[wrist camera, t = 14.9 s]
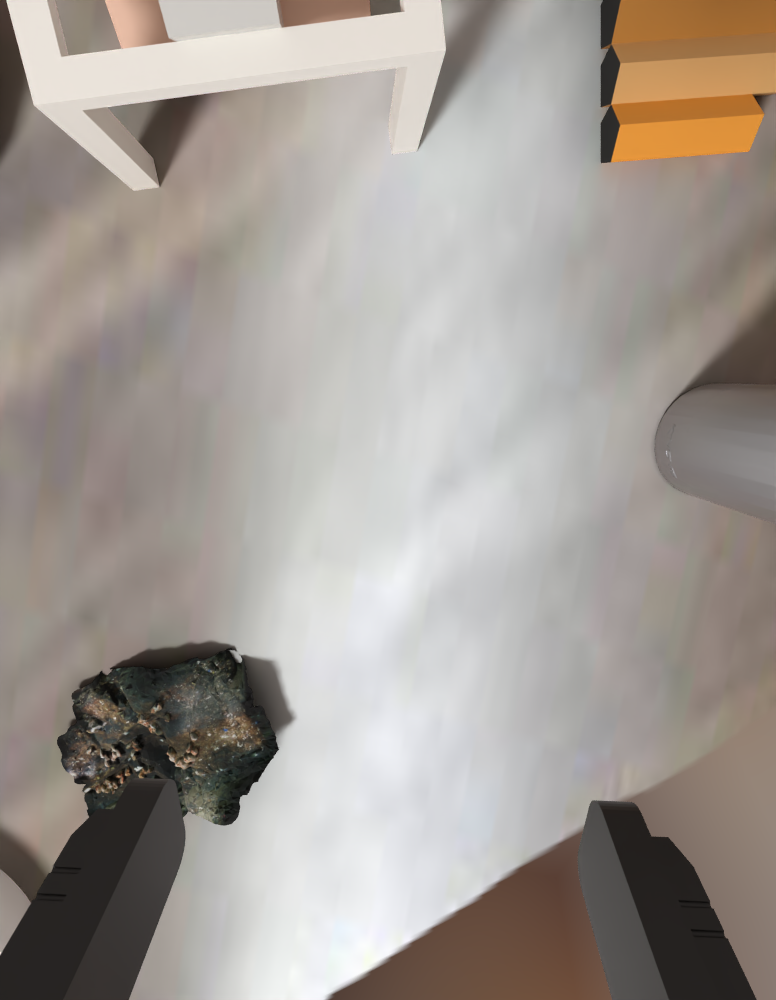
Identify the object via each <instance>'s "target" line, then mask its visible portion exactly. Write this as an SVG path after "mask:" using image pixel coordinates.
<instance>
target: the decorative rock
mask: <svg viewBox="0 0 776 1000" xmlns="http://www.w3.org/2000/svg"><path fill="white" fill-rule="evenodd" d="M228 650H234V649H227V650H226V651H222V652H219V653H218V654H216V655H214V656H212V657H210V658H207V659H198V657H196V658H192V659H189V660H187V661H185V662H183V663H181V664H178V665H173V666H172V667H171V668H169V669H166V668H162V669H151V668H149V669H147V668H143V666H141V667H135V666H134V667H130V668H128V667H126V668H124V667H122V668H119V669H117V668H116V669H115V668H110V669H112V672H110V673H109V675H107V676H106V675H105V674H103V673H102V671H101V672H100V674H99V675H98V676H97V677H96V679H95V680H94V681H93V683H92V684H89V685H87V686H85V687H84V688H81V689H78V690H76V691H74V692H73V693H72V699H73V702H74V704H73V712H74V714H75V717H76V720H77V723H76V724H75V725H74V726H71V727H69V728H68V731H67V733H65V734H64V735H61V736H59V737H58V740H57V744H58V746H59V748H60V751H61V753H62V759H61V762H62V765H63V767H64V769H65V770H66V771H67V772H68V773H70V774H71V775H72V776H73V777H74V782H75V783H77V784H86V785H85V786H84V788H83V790H82V791H83V792H84V793H85V798H84V799H85V802H86V803H87V806H88V810H87V812H88V815H89V817H90V816H91V815H92V814H93V813H94V812H95V811H96V810H97V809H114V807H115V806H116V804H117V802H118V800H119V798H120V796H121V795H122V793H123V791H124V789H125V787H126V786H127V784H128V783H129V782H130V781H131V780H132V779H134V778H149V779H171V780H174V781H175V783H176V786H177V791H178V796H179V801H180V806H181V811H182V816H183V817H184V816H185V815H186V814H187V812H188V811H189V812H191V813H192V814H195V815H197V816H201V817H202V818H204V819H206V820H208V821H210V822H212V823H214V824H218V825H229V824H232V823H233V822H234V821H235V820H236V819H237V817H238V815H239V810H240V805H239V801H240V797H241V796H242V795H247V794H248V793H249V791H250V788H251V786H252V784H253V783H254V782H258V780H259V778H260V776H261V774H262V773H263V772H264V770H265V768H266V767H267V765H268V763H269V762H270V761H271V760H272V759H273V758H274V755H275V754H276V752H277V751H278V750H279V749H278V745H277V742H276V736H275V734H274V732H273V730H272V728H271V725H270V722H269V720H268V719H267V717H266V715H265V712H264V709H263V708H262V706H256V707H254V705H253V695H252V690H251V688H250V687H249V686H248V683H247V676H246V672H245V671H246V668H245V664H244V660H243V658H242V662H241V663H237V662H236V661H235V659H234V658H233V656H232V655H231V653H230V652H229V651H228ZM240 656H241V655H240Z"/></svg>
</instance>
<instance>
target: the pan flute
mask: <svg viewBox="0 0 776 1000" xmlns="http://www.w3.org/2000/svg"><path fill="white" fill-rule="evenodd" d="M607 48H609V50H608V52H607V54H606V56H605V58H604V60H603V62H602V64H601V107H609V109H608V111H607V113H606V115H605V117H604V118H603V120H602V122H601V163H607V162H620V161H633V160H646V159H659V158H671V157H684V156H697V155H710V154H723V153H735V152H748V151H749V150H750V148H751V145H752V143H753V140H754V138H755V136H756V133H757V131H758V128H759V126H760V123H761V121H762V119H763V116H764V113H763V111H762V109H761V108H760V106H759V104H758V103H757V101H756V100H755V98H754V96H760V95H771V94H776V0H603V2H602V4H601V49H607Z"/></svg>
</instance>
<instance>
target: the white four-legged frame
mask: <svg viewBox="0 0 776 1000" xmlns="http://www.w3.org/2000/svg"><path fill="white" fill-rule="evenodd" d="M6 1H7V5H8V9H9V12H10V16H11V20H12V24H13V28H14V31H15V35H16V39H17V43H18V46H19V50H20V54H21V58H22V62H23V65H24V69H25V73H26V77H27V81H28V84H29V88H30V92H31V96H32V99H33V103H34V106H35V107H37V108H38V109H39V110H40V111H41V112H42V113H44V114H45V115H46V116H47V117H48V118H49V119H51V120H52V121H53V122H54V123H55V124H56V125H58V126H59V127H60V128H61V129H62V130H63V131H65V132H66V133H67V134H68V135H69V136H70V137H72V138H73V139H74V140H75V141H76V142H77V143H79V144H80V145H81V146H82V147H83V148H84V149H86V150H87V151H88V152H89V153H90V154H91V155H93V156H94V157H95V158H96V159H97V160H98V161H100V162H101V163H102V164H103V165H104V166H106V167H107V168H108V169H109V170H110V171H111V172H113V173H114V174H115V175H116V176H117V177H118V178H120V179H121V180H122V181H123V182H124V183H125V184H127V185H128V186H129V187H130V188H131V189H132V190H134V191H136V190H143V189H150V188H157V187H160V186H159V182H158V177H157V173H156V168H155V164H154V159H153V158H152V157H151V155H150V154H149V153H148V152H147V151H146V150H145V149H144V148H143V147H142V145H141V144H140V143H139V142H138V141H137V140H136V139H135V138H134V137H133V136H132V134H131V133H130V132H129V131H128V130H127V129H126V128H125V127H124V126H123V125H122V123H121V122H120V121H119V120H118V119H117V118H116V117H115V116H114V115H113V114H112V112H111V111H110V110H109V109H108V108H107V107H111V106H118V105H126V104H133V103H141V102H148V101H155V100H163V99H170V98H178V97H185V96H192V95H200V94H207V93H215V92H222V91H230V90H237V89H244V88H252V87H259V86H267V85H274V84H281V83H289V82H296V81H304V80H311V79H318V78H326V77H333V76H341V75H348V74H355V73H363V72H370V71H378V70H385V69H393V68H396V75H395V82H394V89H393V96H392V103H391V110H390V117H389V124H388V129H389V136H390V144H391V152H392V155H393V154H400V153H407V152H415V151H417V149H418V146H419V142H420V139H421V135H422V132H423V128H424V125H425V122H426V118H427V115H428V111H429V108H430V104H431V101H432V97H433V94H434V90H435V87H436V83H437V80H438V76H439V73H440V69H441V66H442V62H443V59H444V55H445V52H446V45H445V35H444V26H443V16H442V7H441V0H400V7H401V12H398V13H390V14H382V15H375V16H367V17H360V18H352V19H345V20H337V21H329V22H322V23H314V24H307V25H299V26H291V27H284V28H276V29H269V30H261V31H253V32H246V33H238V34H231V35H223V36H216V37H208V38H200V39H193V40H185V41H178V42H170V43H162V44H155V45H147V46H140V47H132V48H124V49H117V50H109V51H102V52H94V53H87V54H79V55H71V56H69V55H68V51H67V47H66V43H65V39H64V35H63V30H62V26H61V22H60V18H59V14H58V10H57V6H56V2H55V0H6Z"/></svg>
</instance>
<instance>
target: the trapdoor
mask: <svg viewBox="0 0 776 1000" xmlns="http://www.w3.org/2000/svg"><path fill="white" fill-rule="evenodd" d="M105 2H106V5H107V8H108V11H109V13H110V16H111V19H112V22H113V25H114V28H115V30H116V33H117V36H118V39H119V42H120V45H121V47H122V49H124V48H132V47H140V46H147V45H155V44H162V43H170V42H177V41H174V40H172V39H170V38H169V37H168V34H167V30H166V26H165V23H164V19H163V15H162V12H161V8H160V4H159V1H158V0H105ZM280 5H281V11H282V17H283V23H284V27H291V26H299V25H307V24H314V23H322V22H329V21H337V20H345V19H352V18H360V17H367V16H371V13H370V0H280Z"/></svg>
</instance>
